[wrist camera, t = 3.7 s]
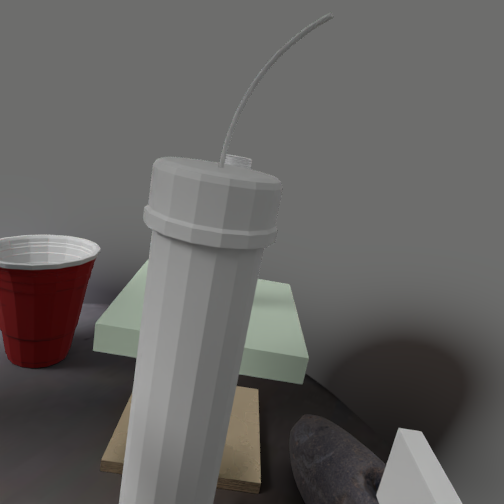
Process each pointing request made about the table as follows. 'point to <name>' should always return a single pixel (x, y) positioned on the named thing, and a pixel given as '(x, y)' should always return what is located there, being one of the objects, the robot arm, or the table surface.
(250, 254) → the pipe
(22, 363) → the plastic cup
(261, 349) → the pale mint square tile
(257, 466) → the post stand
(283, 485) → the table surface
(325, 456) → the perforated stone tool
